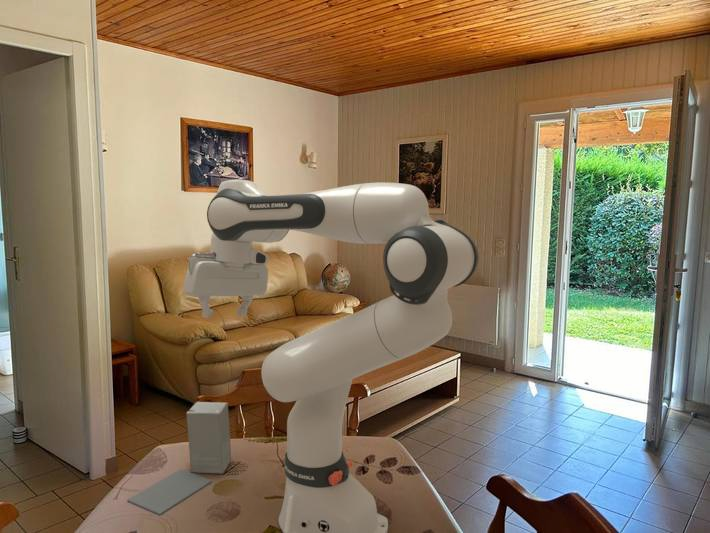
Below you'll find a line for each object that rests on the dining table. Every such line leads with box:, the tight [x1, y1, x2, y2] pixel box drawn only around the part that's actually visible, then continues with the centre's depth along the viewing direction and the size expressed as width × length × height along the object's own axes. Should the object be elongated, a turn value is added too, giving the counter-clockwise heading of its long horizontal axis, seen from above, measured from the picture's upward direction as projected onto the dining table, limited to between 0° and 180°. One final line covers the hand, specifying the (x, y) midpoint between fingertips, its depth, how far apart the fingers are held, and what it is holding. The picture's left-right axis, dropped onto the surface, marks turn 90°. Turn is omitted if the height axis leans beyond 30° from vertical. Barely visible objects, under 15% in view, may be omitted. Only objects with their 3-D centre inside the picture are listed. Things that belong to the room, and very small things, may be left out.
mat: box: [126, 468, 213, 516], centre depth 117 cm, size 10×15×1 cm, turn 151°
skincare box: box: [186, 401, 232, 474], centre depth 127 cm, size 8×7×16 cm
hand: (224, 316), depth 116 cm, fingers open, 8 cm apart
